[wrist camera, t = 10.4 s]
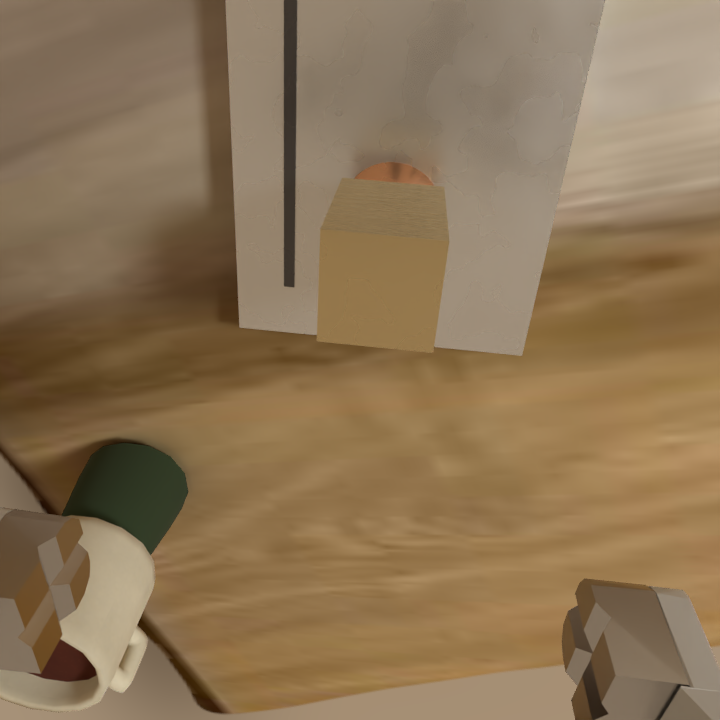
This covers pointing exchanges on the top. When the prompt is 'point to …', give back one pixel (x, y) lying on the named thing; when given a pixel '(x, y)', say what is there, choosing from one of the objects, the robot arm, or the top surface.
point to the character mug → (107, 578)
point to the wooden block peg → (382, 265)
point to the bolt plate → (405, 142)
